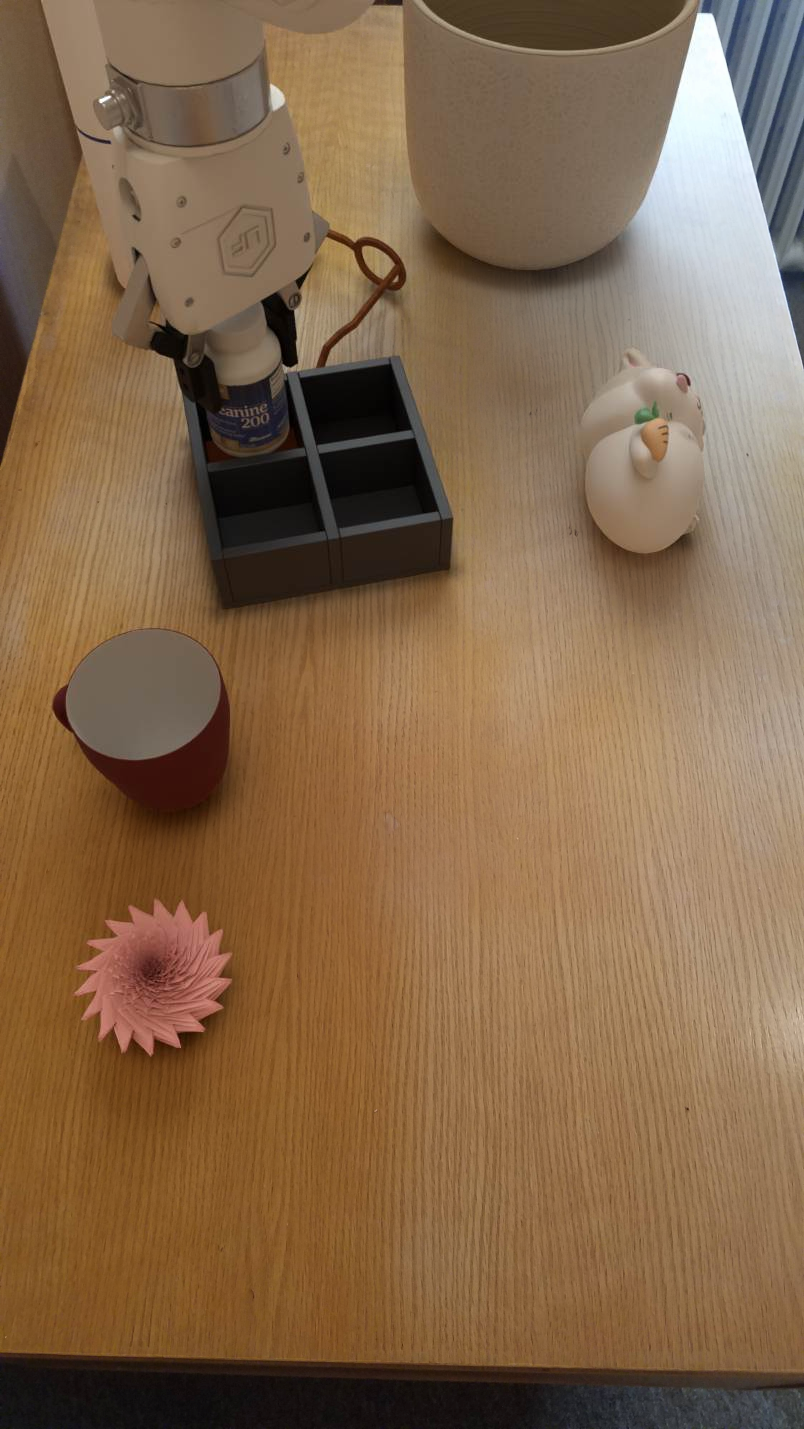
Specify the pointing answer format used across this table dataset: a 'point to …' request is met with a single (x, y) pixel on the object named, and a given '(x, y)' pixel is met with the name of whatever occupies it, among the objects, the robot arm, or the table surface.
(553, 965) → the table surface
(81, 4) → the cylindrical container
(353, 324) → the glasses
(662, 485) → the white animal figurine
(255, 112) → the robot arm
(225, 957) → the flower
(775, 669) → the table surface
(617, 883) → the table surface
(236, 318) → the pill bottle
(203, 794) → the mug
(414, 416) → the divided storage tray
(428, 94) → the planter
